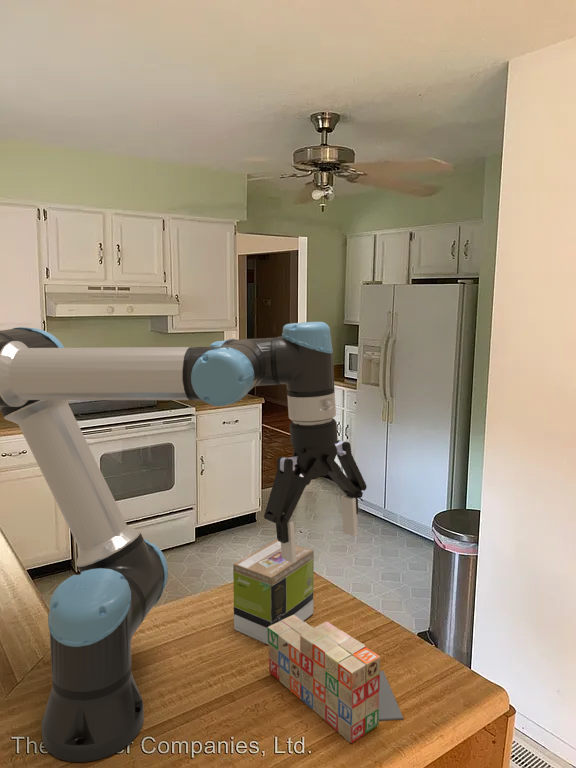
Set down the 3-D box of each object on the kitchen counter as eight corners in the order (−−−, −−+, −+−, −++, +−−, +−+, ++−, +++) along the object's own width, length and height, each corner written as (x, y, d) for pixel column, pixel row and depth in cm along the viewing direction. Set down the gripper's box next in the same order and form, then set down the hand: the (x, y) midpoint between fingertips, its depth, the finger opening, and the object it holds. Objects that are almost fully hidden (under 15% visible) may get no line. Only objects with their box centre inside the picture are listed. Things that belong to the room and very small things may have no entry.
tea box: (276, 600, 133) (277, 536, 131) (314, 615, 127) (316, 549, 125) (231, 630, 121) (232, 561, 119) (271, 648, 115) (272, 576, 113)
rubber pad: (360, 722, 96) (360, 720, 96) (345, 674, 108) (345, 672, 108) (403, 719, 97) (403, 717, 97) (383, 672, 109) (383, 670, 109)
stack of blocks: (267, 673, 108) (266, 610, 105) (295, 659, 112) (293, 598, 109) (351, 744, 91) (351, 672, 89) (380, 725, 95) (381, 655, 93)
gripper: (264, 439, 85) (275, 580, 88) (383, 408, 100) (389, 529, 103) (234, 432, 91) (245, 564, 94) (351, 404, 106) (357, 519, 109)
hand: (321, 546), depth 98 cm, fingers open, 13 cm apart
